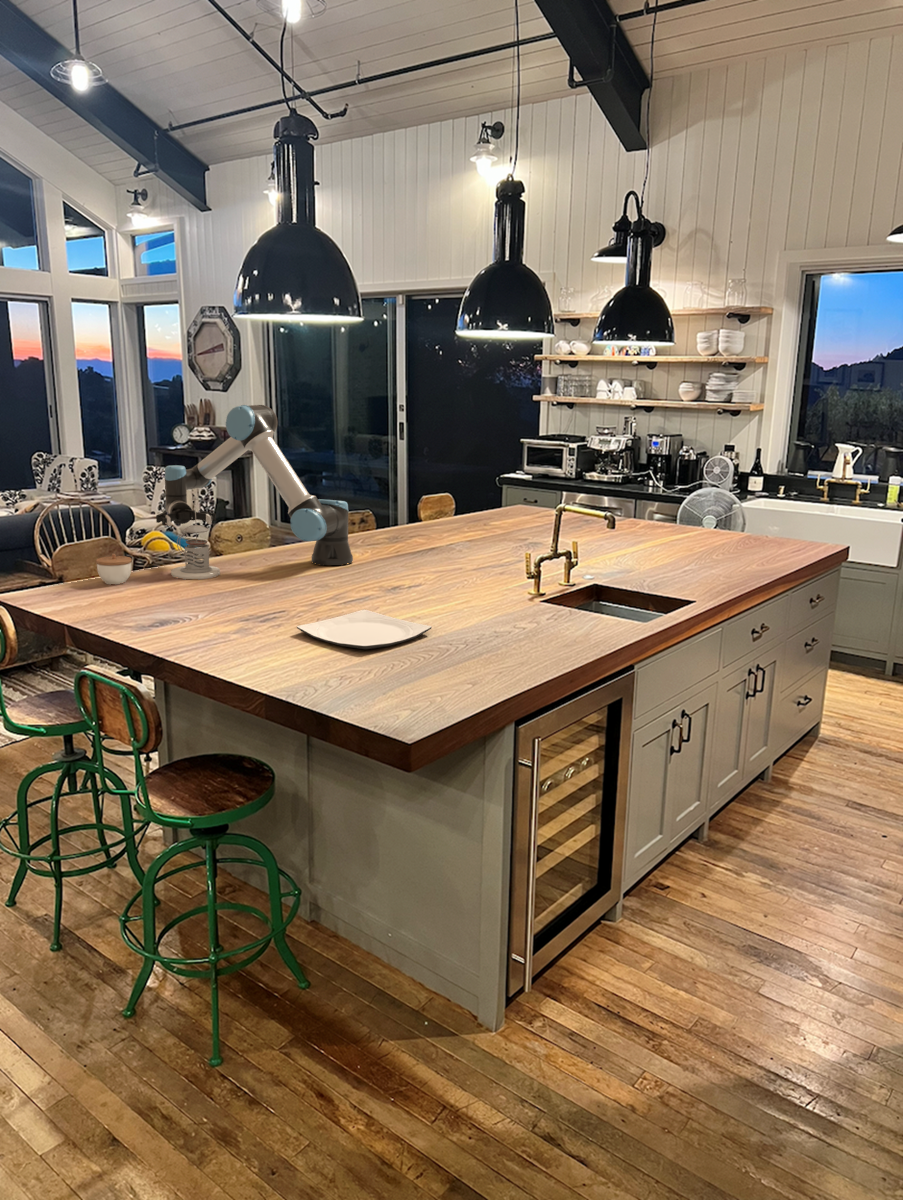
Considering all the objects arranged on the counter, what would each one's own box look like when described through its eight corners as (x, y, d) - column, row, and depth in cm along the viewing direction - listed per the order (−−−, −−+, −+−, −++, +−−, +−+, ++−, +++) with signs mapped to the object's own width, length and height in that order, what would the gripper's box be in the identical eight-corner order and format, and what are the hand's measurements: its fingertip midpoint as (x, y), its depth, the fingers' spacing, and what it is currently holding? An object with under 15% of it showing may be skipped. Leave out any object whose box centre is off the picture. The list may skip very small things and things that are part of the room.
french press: (204, 573, 306) (202, 498, 300) (172, 571, 308) (169, 497, 302) (217, 567, 315) (215, 495, 309) (185, 565, 317) (182, 493, 311)
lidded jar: (125, 586, 292) (124, 557, 290) (92, 585, 292) (90, 556, 290) (137, 579, 302) (136, 551, 300) (105, 578, 302) (103, 550, 300)
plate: (364, 616, 266) (364, 607, 266) (439, 636, 249) (439, 626, 248) (288, 635, 245) (288, 626, 244) (364, 658, 227) (364, 648, 227)
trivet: (229, 574, 313) (229, 569, 313) (191, 581, 301) (191, 576, 300) (199, 567, 322) (199, 562, 322) (161, 574, 310) (161, 569, 309)
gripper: (215, 521, 338) (227, 530, 320) (145, 523, 328) (152, 533, 309) (215, 500, 336) (226, 509, 318) (144, 502, 326) (151, 511, 308)
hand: (190, 521), depth 314 cm, fingers open, 13 cm apart
